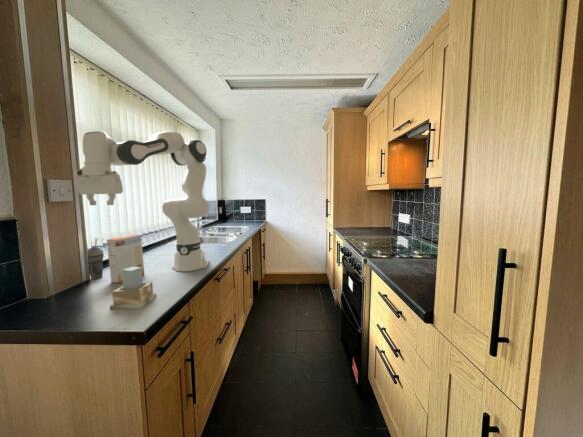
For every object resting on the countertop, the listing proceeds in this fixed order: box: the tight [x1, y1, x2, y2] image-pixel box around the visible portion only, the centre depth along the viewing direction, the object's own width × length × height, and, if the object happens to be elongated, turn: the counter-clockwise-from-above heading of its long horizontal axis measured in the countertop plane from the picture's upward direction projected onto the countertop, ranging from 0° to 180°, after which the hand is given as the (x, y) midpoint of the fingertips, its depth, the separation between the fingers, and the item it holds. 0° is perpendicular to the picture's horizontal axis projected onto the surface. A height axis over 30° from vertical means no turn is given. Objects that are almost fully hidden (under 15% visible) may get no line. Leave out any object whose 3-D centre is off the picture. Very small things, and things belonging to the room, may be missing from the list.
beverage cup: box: [86, 237, 105, 280], centre depth 128 cm, size 7×7×20 cm
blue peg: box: [122, 267, 144, 290], centre depth 98 cm, size 4×4×12 cm
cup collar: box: [109, 281, 157, 310], centre depth 98 cm, size 11×11×6 cm
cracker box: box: [106, 234, 145, 284], centre depth 126 cm, size 14×6×21 cm, turn 162°
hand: (101, 205), depth 107 cm, fingers open, 8 cm apart
